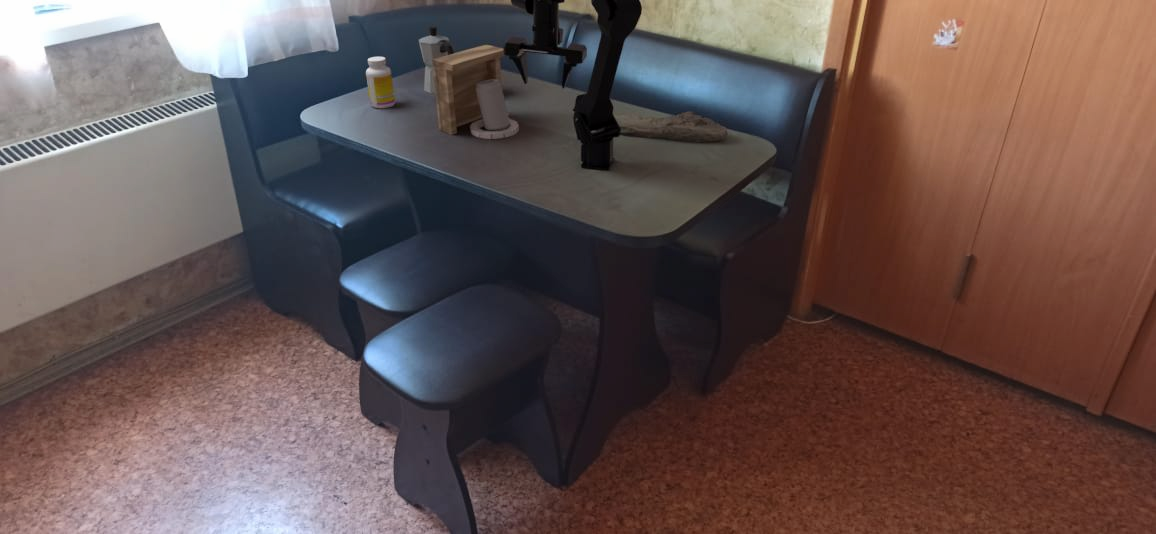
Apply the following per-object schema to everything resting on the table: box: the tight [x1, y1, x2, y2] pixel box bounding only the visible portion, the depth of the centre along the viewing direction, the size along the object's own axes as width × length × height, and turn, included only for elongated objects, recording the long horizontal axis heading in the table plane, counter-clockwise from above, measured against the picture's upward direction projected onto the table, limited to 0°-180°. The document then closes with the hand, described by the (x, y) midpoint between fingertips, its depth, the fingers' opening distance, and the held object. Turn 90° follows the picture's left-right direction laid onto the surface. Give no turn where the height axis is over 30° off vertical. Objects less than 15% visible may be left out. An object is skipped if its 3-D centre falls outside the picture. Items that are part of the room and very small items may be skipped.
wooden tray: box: [432, 44, 506, 135], centre depth 197 cm, size 7×18×18 cm, turn 140°
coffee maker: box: [418, 25, 455, 95], centre depth 221 cm, size 15×9×18 cm, turn 43°
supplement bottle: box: [365, 56, 396, 109], centre depth 212 cm, size 7×7×13 cm
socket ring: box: [469, 118, 520, 140], centre depth 197 cm, size 12×12×1 cm
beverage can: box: [476, 79, 510, 132], centre depth 194 cm, size 6×6×12 cm
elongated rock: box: [596, 111, 728, 143], centre depth 195 cm, size 35×5×10 cm
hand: (544, 85), depth 185 cm, fingers open, 9 cm apart
